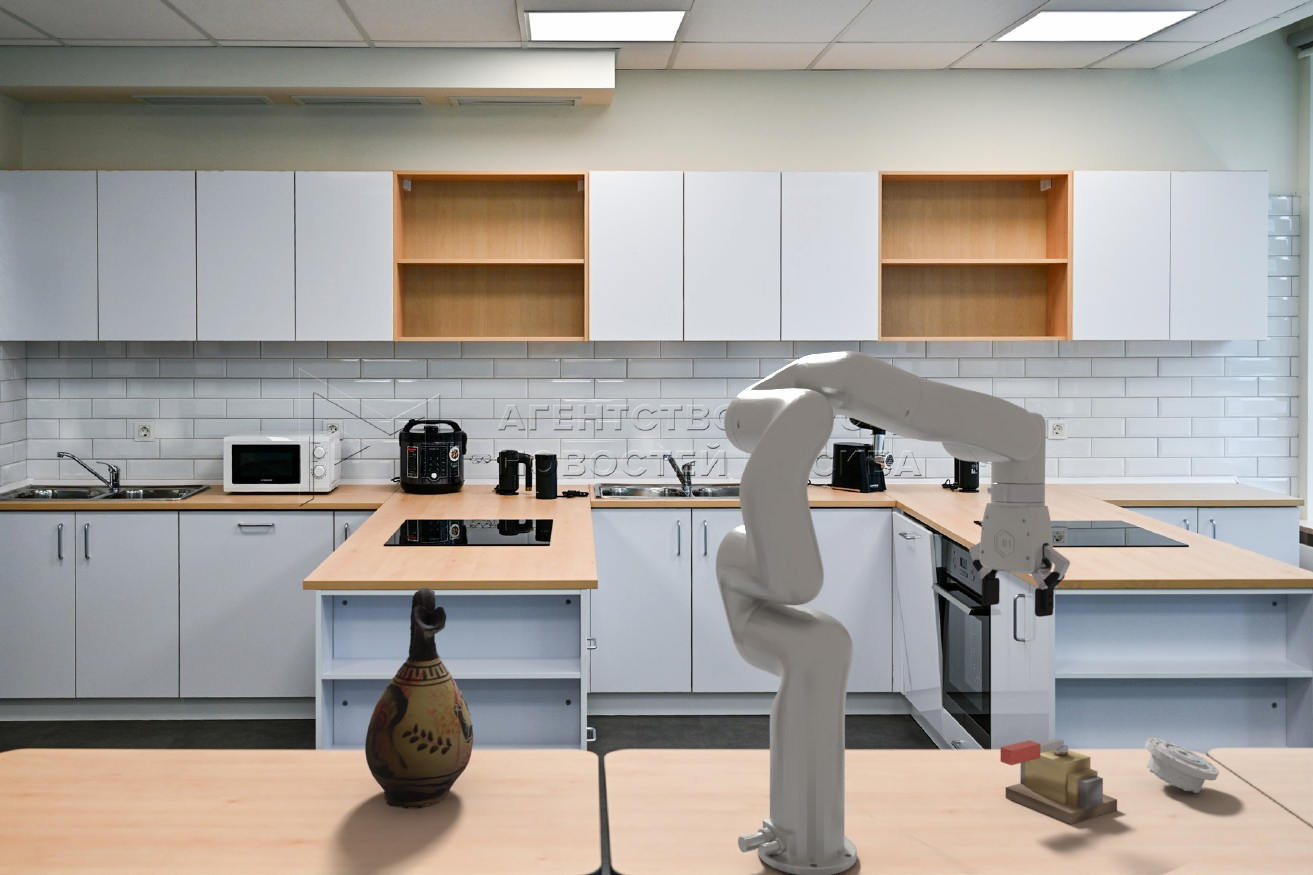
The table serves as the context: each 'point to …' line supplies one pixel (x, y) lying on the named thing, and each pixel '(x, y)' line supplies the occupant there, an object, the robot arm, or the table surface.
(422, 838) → the table surface
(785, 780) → the robot arm
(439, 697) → the ceramic jug
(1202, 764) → the mechanical component
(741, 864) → the table surface
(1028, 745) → the valve lever
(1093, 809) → the valve block
